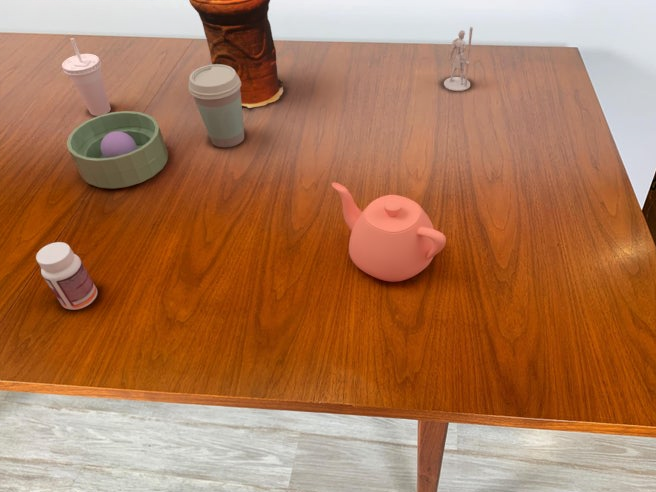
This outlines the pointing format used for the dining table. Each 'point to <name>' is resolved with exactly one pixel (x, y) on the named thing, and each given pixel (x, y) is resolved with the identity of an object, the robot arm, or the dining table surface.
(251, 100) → the vessel
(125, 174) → the bowl
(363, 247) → the teapot
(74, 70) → the smoothie
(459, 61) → the figurine
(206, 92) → the coffee cup
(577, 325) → the dining table surface
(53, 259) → the pill bottle
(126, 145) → the ball
